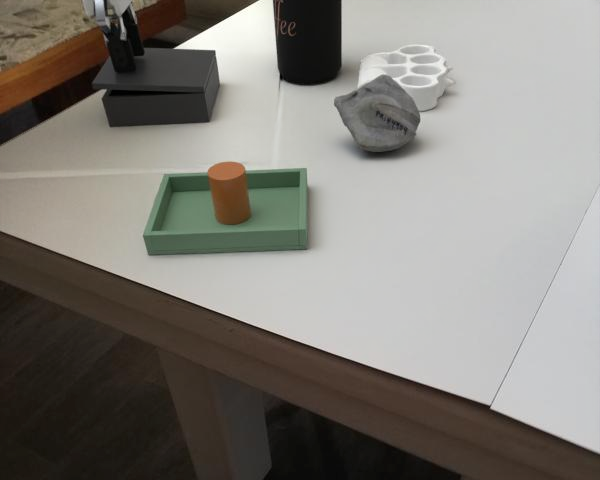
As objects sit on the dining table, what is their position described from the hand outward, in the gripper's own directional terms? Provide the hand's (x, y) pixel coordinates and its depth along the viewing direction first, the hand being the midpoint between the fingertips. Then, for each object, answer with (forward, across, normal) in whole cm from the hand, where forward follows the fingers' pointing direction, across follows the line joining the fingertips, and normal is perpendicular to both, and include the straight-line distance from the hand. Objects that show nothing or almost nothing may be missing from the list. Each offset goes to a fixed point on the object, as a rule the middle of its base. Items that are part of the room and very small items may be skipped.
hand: (130, 61), depth 86 cm
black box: (+7, 0, +4) cm, 8 cm away
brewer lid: (+2, 0, +4) cm, 4 cm away
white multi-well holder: (+8, -4, +41) cm, 42 cm away
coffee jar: (+8, -12, +26) cm, 30 cm away
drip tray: (+7, +32, +17) cm, 38 cm away
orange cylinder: (+6, +32, +18) cm, 38 cm away
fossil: (+8, +15, +35) cm, 39 cm away
